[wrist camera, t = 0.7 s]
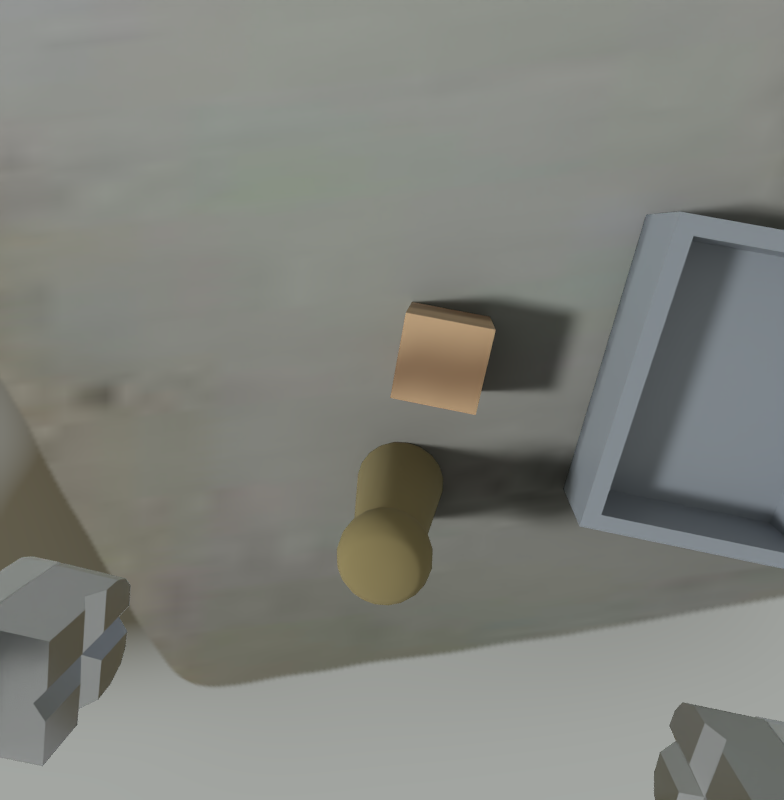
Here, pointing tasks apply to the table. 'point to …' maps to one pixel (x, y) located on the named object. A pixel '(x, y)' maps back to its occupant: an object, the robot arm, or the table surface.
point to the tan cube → (443, 357)
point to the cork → (391, 524)
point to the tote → (691, 395)
